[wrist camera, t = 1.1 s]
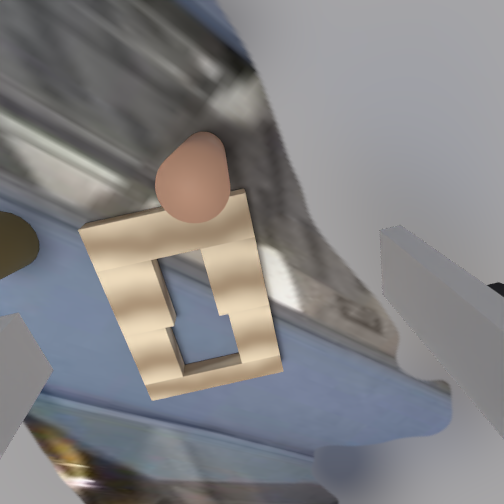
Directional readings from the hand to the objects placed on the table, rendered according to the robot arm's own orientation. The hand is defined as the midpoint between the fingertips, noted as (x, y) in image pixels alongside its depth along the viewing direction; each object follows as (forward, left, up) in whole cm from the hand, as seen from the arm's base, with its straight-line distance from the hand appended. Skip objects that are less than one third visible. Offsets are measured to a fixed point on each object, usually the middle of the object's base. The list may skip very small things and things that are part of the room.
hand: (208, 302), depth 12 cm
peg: (-3, 0, -23) cm, 23 cm away
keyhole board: (+12, -5, -23) cm, 26 cm away
